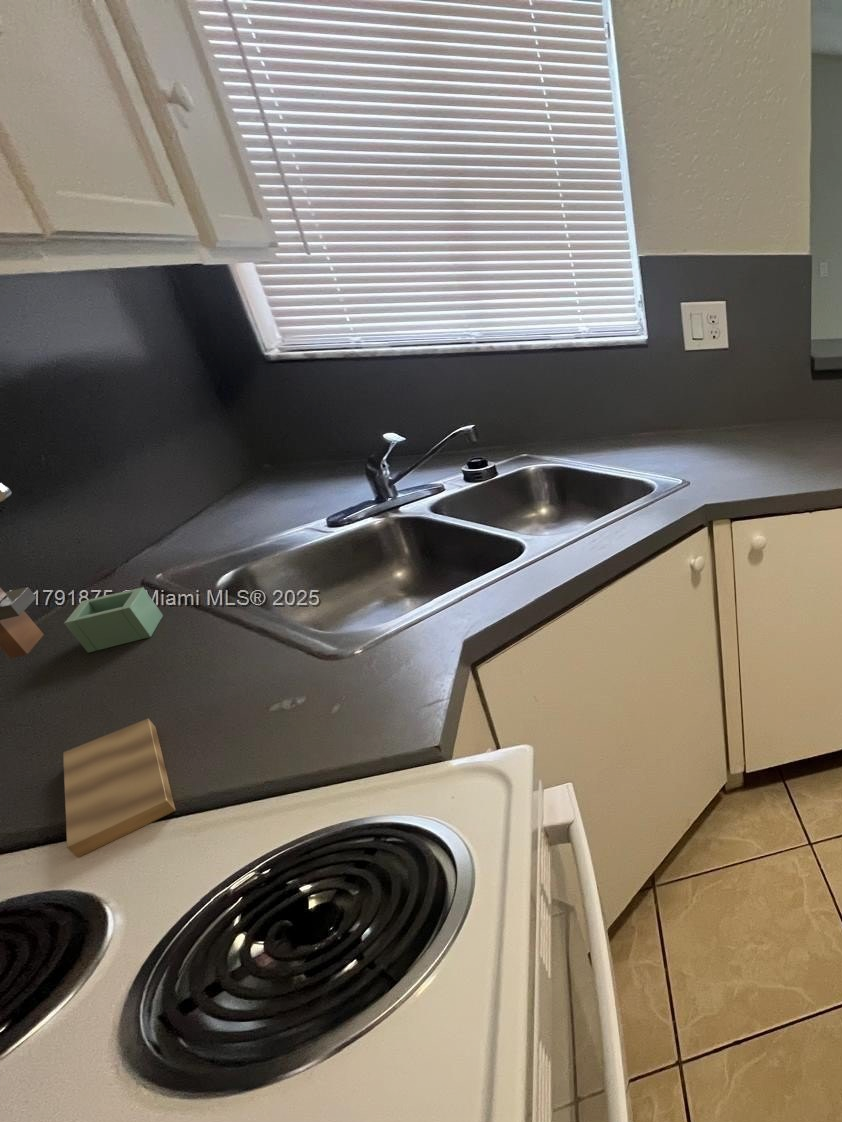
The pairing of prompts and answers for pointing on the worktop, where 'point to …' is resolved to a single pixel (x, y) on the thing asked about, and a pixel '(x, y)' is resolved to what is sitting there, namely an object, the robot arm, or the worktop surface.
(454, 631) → the worktop surface
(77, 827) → the board
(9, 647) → the brown piece
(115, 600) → the green open box
